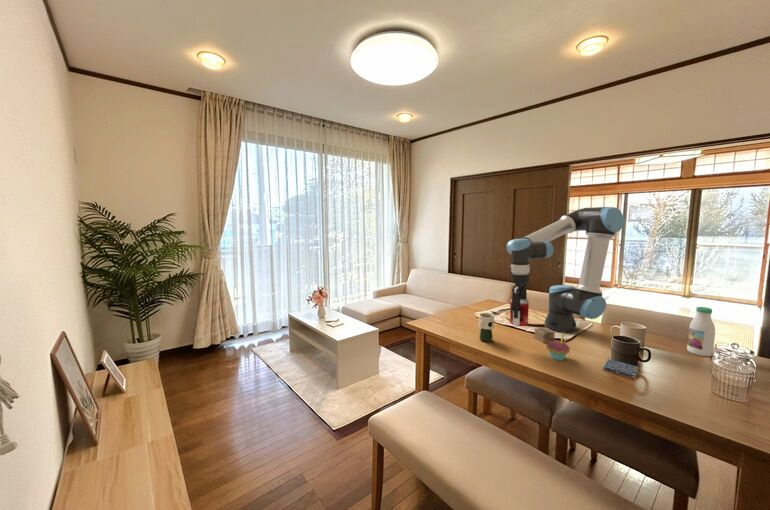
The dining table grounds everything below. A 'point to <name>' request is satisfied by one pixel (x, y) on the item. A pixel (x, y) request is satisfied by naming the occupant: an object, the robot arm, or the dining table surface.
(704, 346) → the milk bottle
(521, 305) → the canned food
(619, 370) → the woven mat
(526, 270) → the robot arm
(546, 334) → the walnut block
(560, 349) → the cupcake
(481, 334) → the character mug
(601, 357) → the dining table surface
